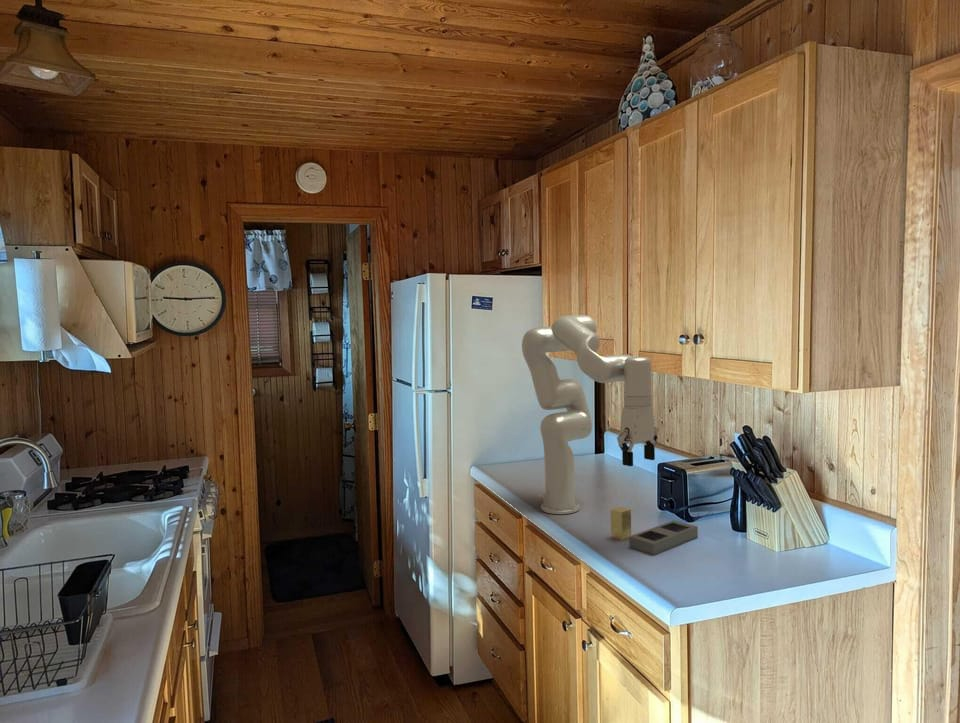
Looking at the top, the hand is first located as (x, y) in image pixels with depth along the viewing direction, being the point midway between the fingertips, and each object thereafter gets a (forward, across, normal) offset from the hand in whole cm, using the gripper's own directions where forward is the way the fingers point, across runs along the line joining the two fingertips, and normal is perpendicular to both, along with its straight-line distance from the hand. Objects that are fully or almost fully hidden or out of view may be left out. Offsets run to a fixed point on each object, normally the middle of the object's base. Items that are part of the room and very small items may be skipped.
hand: (638, 462), depth 190 cm
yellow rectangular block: (+22, +2, -5) cm, 23 cm away
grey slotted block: (+22, -3, +6) cm, 23 cm away
